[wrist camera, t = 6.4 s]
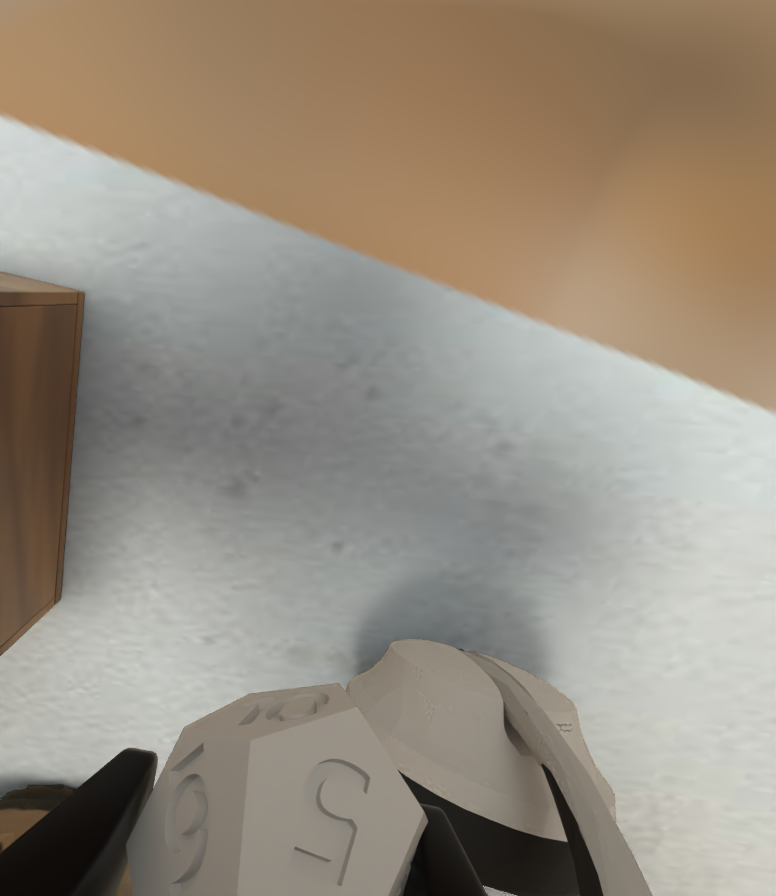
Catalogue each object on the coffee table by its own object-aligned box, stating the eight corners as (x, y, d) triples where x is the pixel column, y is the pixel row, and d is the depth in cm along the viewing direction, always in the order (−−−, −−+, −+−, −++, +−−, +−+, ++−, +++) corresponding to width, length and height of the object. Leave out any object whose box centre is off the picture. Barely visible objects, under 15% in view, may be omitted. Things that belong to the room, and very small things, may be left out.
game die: (192, 622, 8) (72, 827, 5) (448, 660, 8) (485, 879, 5) (175, 809, 9) (69, 1074, 6) (403, 839, 9) (412, 1110, 6)
